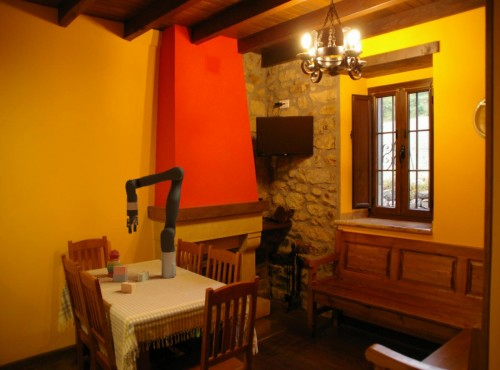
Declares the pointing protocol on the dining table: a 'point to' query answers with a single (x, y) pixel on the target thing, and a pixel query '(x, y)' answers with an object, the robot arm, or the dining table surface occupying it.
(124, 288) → the ochre brick
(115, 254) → the stacking bear
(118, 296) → the dining table surface
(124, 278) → the slate brick
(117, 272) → the terracotta brick
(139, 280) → the sage brick
